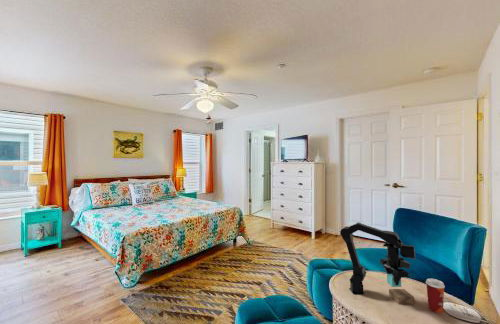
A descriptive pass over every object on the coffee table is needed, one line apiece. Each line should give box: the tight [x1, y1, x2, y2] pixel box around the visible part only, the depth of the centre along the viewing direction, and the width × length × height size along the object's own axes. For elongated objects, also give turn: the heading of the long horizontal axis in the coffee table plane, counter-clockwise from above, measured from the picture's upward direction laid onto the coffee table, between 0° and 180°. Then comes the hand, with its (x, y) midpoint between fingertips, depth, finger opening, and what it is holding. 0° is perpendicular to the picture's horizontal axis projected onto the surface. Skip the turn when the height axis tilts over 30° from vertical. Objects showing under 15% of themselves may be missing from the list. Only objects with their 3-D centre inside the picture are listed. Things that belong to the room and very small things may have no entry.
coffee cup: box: [425, 278, 446, 314], centre depth 127 cm, size 8×8×15 cm
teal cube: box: [386, 273, 402, 288], centre depth 133 cm, size 5×5×5 cm
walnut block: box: [388, 288, 415, 305], centre depth 136 cm, size 9×9×4 cm
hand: (394, 282), depth 133 cm, fingers closed on teal cube, 5 cm apart
